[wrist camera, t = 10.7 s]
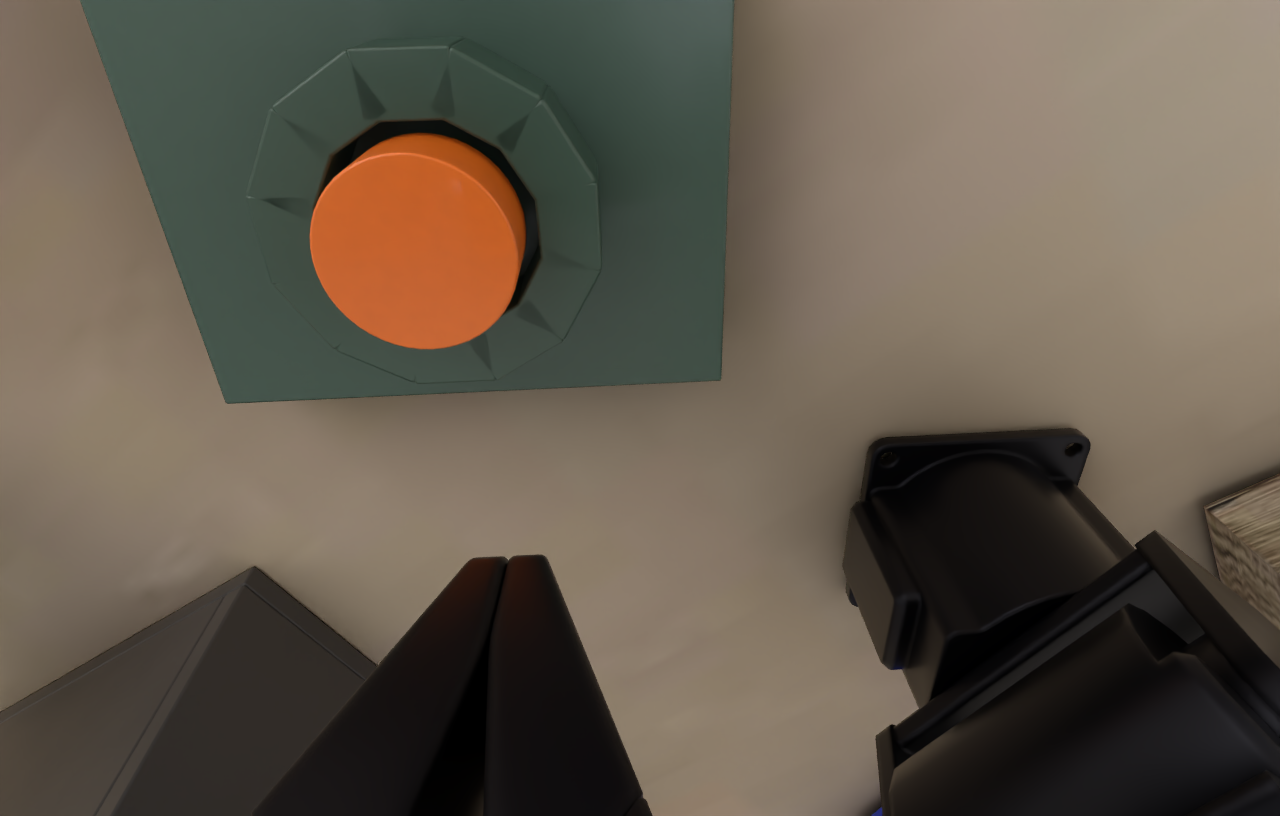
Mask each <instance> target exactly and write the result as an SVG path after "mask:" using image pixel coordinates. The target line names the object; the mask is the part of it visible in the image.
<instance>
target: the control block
mask: <svg viewBox="0 0 1280 816" xmlns="http://www.w3.org/2000/svg"><path fill="white" fill-rule="evenodd" d="M80 2H81V4H82V7H83V10H84V13H85V15H86V18H87V21H88V24H89V26H90V29H91V32H92V35H93V37H94V40H95V43H96V46H97V48H98V51H99V54H100V57H101V60H102V62H103V65H104V68H105V71H106V73H107V76H108V79H109V82H110V84H111V87H112V90H113V93H114V95H115V98H116V101H117V104H118V106H119V109H120V112H121V115H122V117H123V120H124V123H125V126H126V129H127V131H128V134H129V137H130V140H131V142H132V145H133V148H134V151H135V153H136V156H137V159H138V162H139V164H140V167H141V170H142V173H143V175H144V178H145V181H146V184H147V186H148V189H149V192H150V195H151V198H152V200H153V203H154V206H155V209H156V211H157V214H158V217H159V220H160V222H161V225H162V228H163V231H164V233H165V236H166V239H167V242H168V244H169V247H170V250H171V253H172V256H173V258H174V261H175V264H176V267H177V269H178V272H179V275H180V278H181V280H182V283H183V286H184V289H185V291H186V294H187V297H188V300H189V302H190V305H191V308H192V311H193V313H194V316H195V319H196V322H197V325H198V327H199V330H200V333H201V336H202V338H203V341H204V344H205V347H206V349H207V352H208V355H209V358H210V360H211V363H212V366H213V369H214V371H215V374H216V377H217V380H218V382H219V385H220V388H221V391H222V394H223V396H224V399H225V402H226V403H227V404H230V403H252V402H273V401H294V400H316V399H337V398H358V397H380V396H401V395H423V394H444V393H465V392H487V391H508V390H529V389H551V388H572V387H594V386H615V385H636V384H658V383H679V382H700V381H719V380H721V372H722V343H723V314H724V285H725V256H726V228H727V199H728V170H729V141H730V112H731V84H732V55H733V26H734V0H80ZM409 133H433V134H439V135H444V136H447V137H451V138H454V139H457V140H459V141H461V142H464V143H466V144H468V145H470V146H472V147H473V148H475V149H477V150H478V151H480V152H481V153H483V154H484V155H485V156H486V157H488V158H489V159H490V160H491V161H492V162H493V163H494V164H495V165H496V166H497V167H498V168H499V169H500V170H501V171H502V172H503V173H504V175H505V176H506V177H507V178H508V180H509V181H510V183H511V185H512V186H513V188H514V190H515V191H516V194H517V196H518V198H519V200H520V203H521V206H522V209H523V212H524V217H525V223H526V247H525V252H524V256H523V260H522V264H521V268H520V272H519V276H518V280H517V284H516V288H515V291H514V294H513V296H512V299H511V301H510V303H509V305H508V307H507V308H506V310H505V312H504V313H503V314H502V315H501V317H500V318H499V319H498V320H497V321H496V322H495V323H494V324H493V325H492V326H491V327H490V328H489V329H488V330H486V331H485V332H484V333H482V334H481V335H479V336H477V337H475V338H474V339H472V340H470V341H467V342H465V343H462V344H459V345H456V346H452V347H447V348H441V349H415V348H407V347H403V346H399V345H395V344H392V343H389V342H387V341H384V340H381V339H379V338H377V337H375V336H373V335H371V334H369V333H368V332H366V331H365V330H363V329H361V328H360V327H358V326H357V325H356V324H355V323H353V322H352V321H351V320H350V319H348V318H347V317H346V316H345V315H344V314H343V313H342V312H341V311H340V310H339V309H338V308H337V306H336V305H335V304H334V303H333V301H332V300H331V299H330V297H329V296H328V294H327V293H326V291H325V290H324V288H323V286H322V284H321V282H320V280H319V278H318V276H317V273H316V270H315V267H314V264H313V260H312V255H311V250H310V226H311V220H312V216H313V211H314V209H315V206H316V204H317V201H318V199H319V197H320V195H321V194H322V192H323V191H324V189H325V187H326V186H327V185H328V184H329V183H330V182H331V180H332V179H333V178H334V177H335V176H336V175H338V174H339V173H340V172H341V171H342V170H343V169H345V168H346V167H347V166H348V165H350V164H351V163H352V162H353V161H355V160H356V159H357V158H358V157H360V156H361V155H362V154H363V153H365V152H366V151H367V150H368V149H370V148H371V147H373V146H374V145H376V144H378V143H379V142H381V141H384V140H386V139H388V138H391V137H394V136H398V135H402V134H409Z"/></svg>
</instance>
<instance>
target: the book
mask: <svg viewBox="0 0 1280 816" xmlns="http://www.w3.org/2000/svg"><path fill="white" fill-rule="evenodd" d="M1203 507H1204V511H1205V515H1206V520H1207V524H1208V528H1209V533H1210V537H1211V541H1212V546H1213V550H1214V554H1215V559H1216V563H1217V568H1218V572H1219V576H1220V581H1221V582H1222V583H1223V584H1225V585H1226V586H1227V587H1229V588H1230V589H1231V590H1232V591H1234V592H1235V593H1236V594H1238V595H1239V596H1240V597H1241V598H1243V599H1244V600H1245V601H1247V602H1248V603H1249V604H1250V605H1252V606H1253V607H1254V608H1255V609H1257V610H1258V611H1259V612H1260V613H1261V614H1263V615H1264V616H1265V617H1266V618H1267V619H1268V620H1269V621H1270V622H1271V623H1272V624H1273V625H1274V626H1275V627H1277V628H1278V629H1279V630H1280V473H1279V474H1277V475H1275V476H1272V477H1270V478H1268V479H1265V480H1263V481H1261V482H1258V483H1256V484H1254V485H1251V486H1249V487H1247V488H1245V489H1242V490H1240V491H1238V492H1235V493H1233V494H1231V495H1228V496H1226V497H1224V498H1221V499H1219V500H1217V501H1214V502H1212V503H1210V504H1208V505H1205V506H1203Z"/></svg>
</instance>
